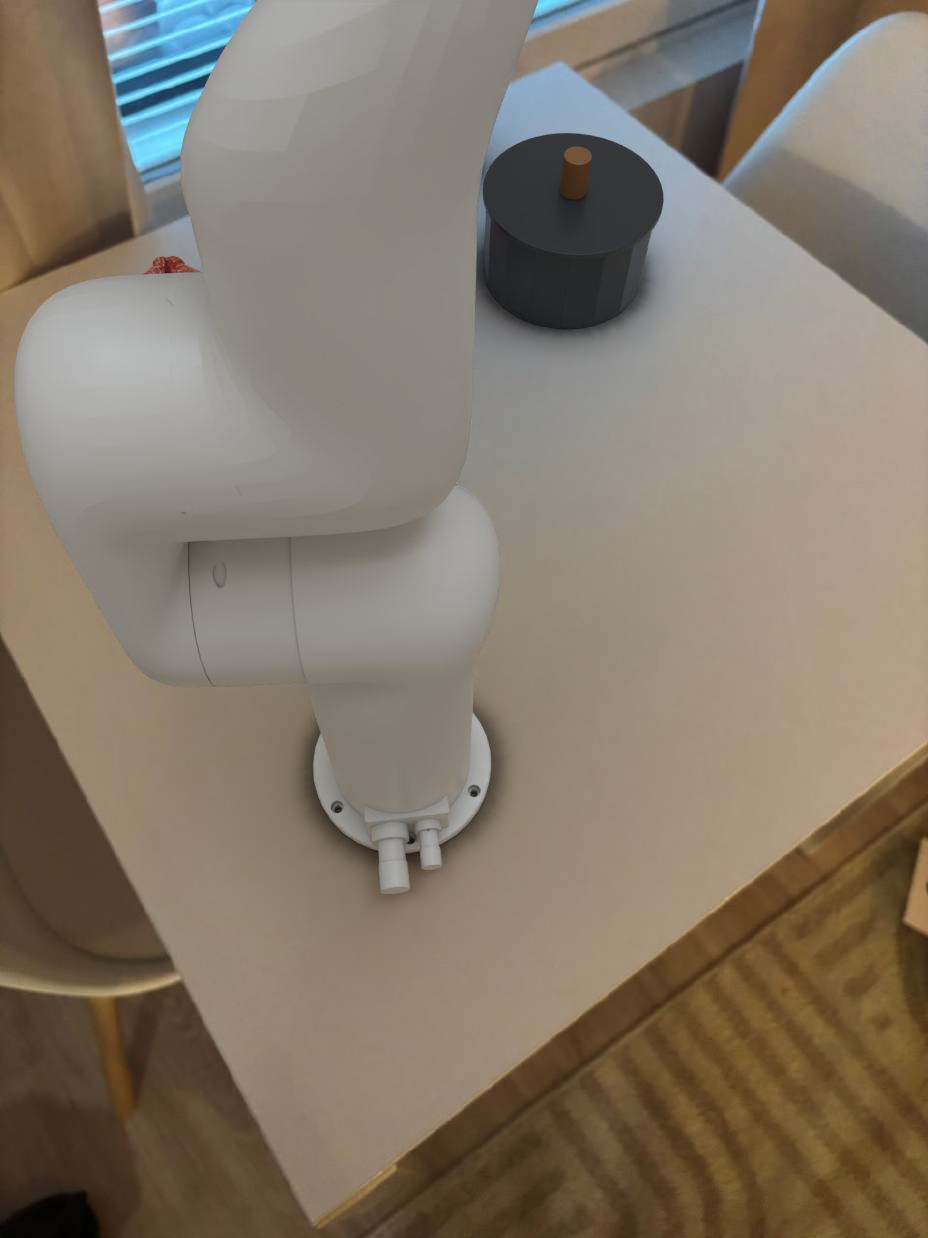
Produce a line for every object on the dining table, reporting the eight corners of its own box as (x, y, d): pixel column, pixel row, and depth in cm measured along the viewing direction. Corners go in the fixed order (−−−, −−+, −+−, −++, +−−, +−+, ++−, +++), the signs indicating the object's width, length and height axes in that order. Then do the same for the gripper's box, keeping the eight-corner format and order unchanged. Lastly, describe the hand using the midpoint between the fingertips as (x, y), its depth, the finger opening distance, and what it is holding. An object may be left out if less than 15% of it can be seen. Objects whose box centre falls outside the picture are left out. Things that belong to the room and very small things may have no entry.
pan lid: (679, 257, 81) (691, 212, 77) (495, 271, 80) (498, 226, 76) (640, 137, 88) (649, 90, 84) (471, 149, 87) (472, 102, 83)
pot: (654, 322, 88) (674, 248, 81) (496, 335, 87) (500, 261, 80) (622, 213, 95) (637, 135, 88) (475, 224, 94) (477, 146, 87)
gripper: (293, -173, 65) (324, 82, 81) (305, -33, 57) (336, 220, 73) (402, -177, 65) (411, 77, 81) (429, -39, 57) (433, 213, 73)
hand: (376, 142), depth 77 cm, fingers closed on pepper mill, 6 cm apart
